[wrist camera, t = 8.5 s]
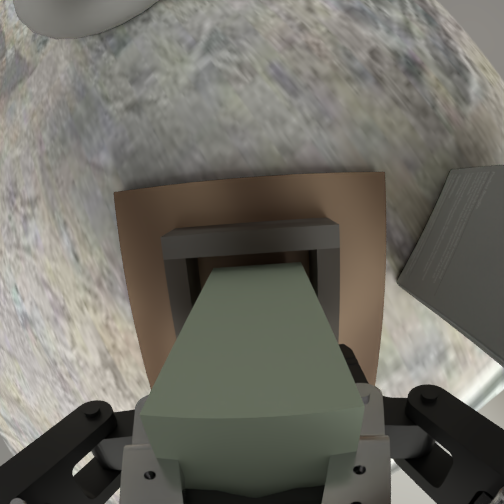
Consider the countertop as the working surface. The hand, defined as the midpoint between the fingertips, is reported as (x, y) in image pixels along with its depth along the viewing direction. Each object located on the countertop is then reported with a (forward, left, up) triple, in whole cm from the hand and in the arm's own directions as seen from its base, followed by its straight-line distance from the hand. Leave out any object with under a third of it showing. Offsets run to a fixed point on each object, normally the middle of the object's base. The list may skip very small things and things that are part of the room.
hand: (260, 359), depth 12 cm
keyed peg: (0, 0, -3) cm, 3 cm away
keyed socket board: (0, 0, -6) cm, 6 cm away
